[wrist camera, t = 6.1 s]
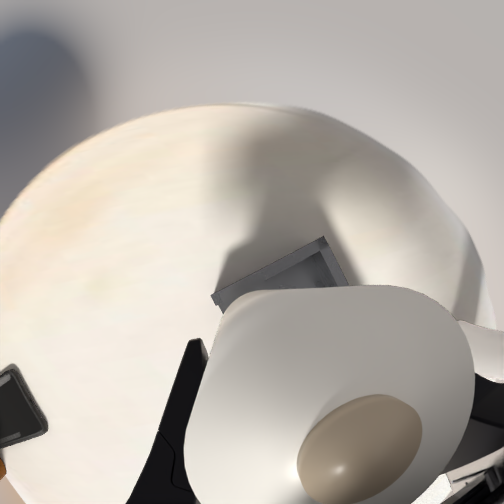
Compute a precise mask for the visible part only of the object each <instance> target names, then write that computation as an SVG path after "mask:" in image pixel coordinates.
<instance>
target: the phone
mask: <svg viewBox="0 0 504 504" xmlns="http://www.w3.org/2000/svg"><path fill="white" fill-rule="evenodd" d="M29 398H30V399H31V401H32V403H33V404H34V406H33V405H32V403H31V401H30V399H29ZM41 417H42V418H41ZM47 431H48V425H47V423H46V421H45V419H44V418H43V416H42V415H41V413H40V411H39V410H38V408H37V406H36V405H35V403H34V401H33V400H32V398H31V396H30V394H29V392H28V391H27V389H26V387H25V385H24V383H23V381H22V379H21V377H20V375H19V374H18V373H17V371H15V370H13V369H11V370H8V371H6V372H4V373H3V374H2V375H0V448H4V447H8V446H11V445H14V444H17V443H20V442H23V441H26V440H29V439H32V438H35V437H38V436H41V435H43V434H45V433H46V432H47Z"/></svg>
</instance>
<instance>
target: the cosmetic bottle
mask: <svg viewBox="0 0 504 504" xmlns="http://www.w3.org/2000/svg"><path fill="white" fill-rule="evenodd" d="M457 322H458V323H459V325H460V327H461V328H462V330H463V332H464V334H465V336H466V338H467V341H468V343H469V346H470V349H471V353H472V357H473V362H474V371H475V373H477V374H479V375H480V376H482V377H486V378H492V379H498V380H504V332H503V331H498V330H493V329H488V328H484V327H480V326H477V325H474V324H471V323H468V322H465V321H457Z"/></svg>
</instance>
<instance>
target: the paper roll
mask: <svg viewBox="0 0 504 504" xmlns="http://www.w3.org/2000/svg"><path fill="white" fill-rule="evenodd" d="M474 391H475V371H474V362H473V357H472V353H471V349H470V346H469V343H468V341H467V338H466V336H465V334H464V332H463V330H462V328H461V327H460V325H459V323H458V322H457V321H456V320H455V318H454V317H453V316H452V315H451V314H450V312H449V311H448V310H446V309H445V308H444V307H443V306H442V305H440V304H439V303H438V302H437V301H435V300H433V299H431V298H430V297H428V296H426V295H424V294H422V293H419V292H416V291H414V290H411V289H408V288H403V287H397V286H391V285H361V286H344V287H326V288H305V289H280V290H257V291H253V292H249V293H246V294H244V295H242V296H240V297H239V298H237V299H236V300H235V301H234V302H232V303H231V304H230V306H229V307H228V308H227V309H226V311H225V312H224V314H223V316H222V319H221V322H220V325H219V328H218V331H217V334H216V337H215V340H214V343H213V347H212V350H211V353H210V356H209V359H208V362H207V365H206V368H205V371H204V375H203V378H202V381H201V384H200V387H199V390H198V393H197V397H196V400H195V403H194V406H193V409H192V412H191V416H190V419H189V422H188V426H187V429H186V434H185V443H184V462H185V469H186V473H187V477H188V480H189V483H190V485H191V488H192V490H193V492H194V494H195V496H196V497H197V499H198V500H199V502H200V503H201V504H411V503H412V502H414V501H415V500H416V499H417V498H418V497H419V496H420V495H421V494H422V493H423V492H424V491H426V489H427V488H428V487H429V486H430V485H431V484H432V483H433V482H434V481H435V480H436V479H437V477H438V476H439V475H440V473H441V472H442V471H443V469H444V468H445V467H446V465H447V464H448V462H449V461H450V459H451V458H452V456H453V454H454V453H455V451H456V449H457V447H458V445H459V443H460V441H461V439H462V437H463V434H464V432H465V429H466V427H467V424H468V421H469V417H470V414H471V410H472V405H473V399H474Z"/></svg>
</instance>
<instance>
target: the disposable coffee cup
mask: <svg viewBox="0 0 504 504" xmlns="http://www.w3.org/2000/svg"><path fill="white" fill-rule="evenodd" d="M5 474H6V469H5V466H4V464H3V462H2V460H1V458H0V480H1V479H2V478H3V477H4V476H5Z"/></svg>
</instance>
